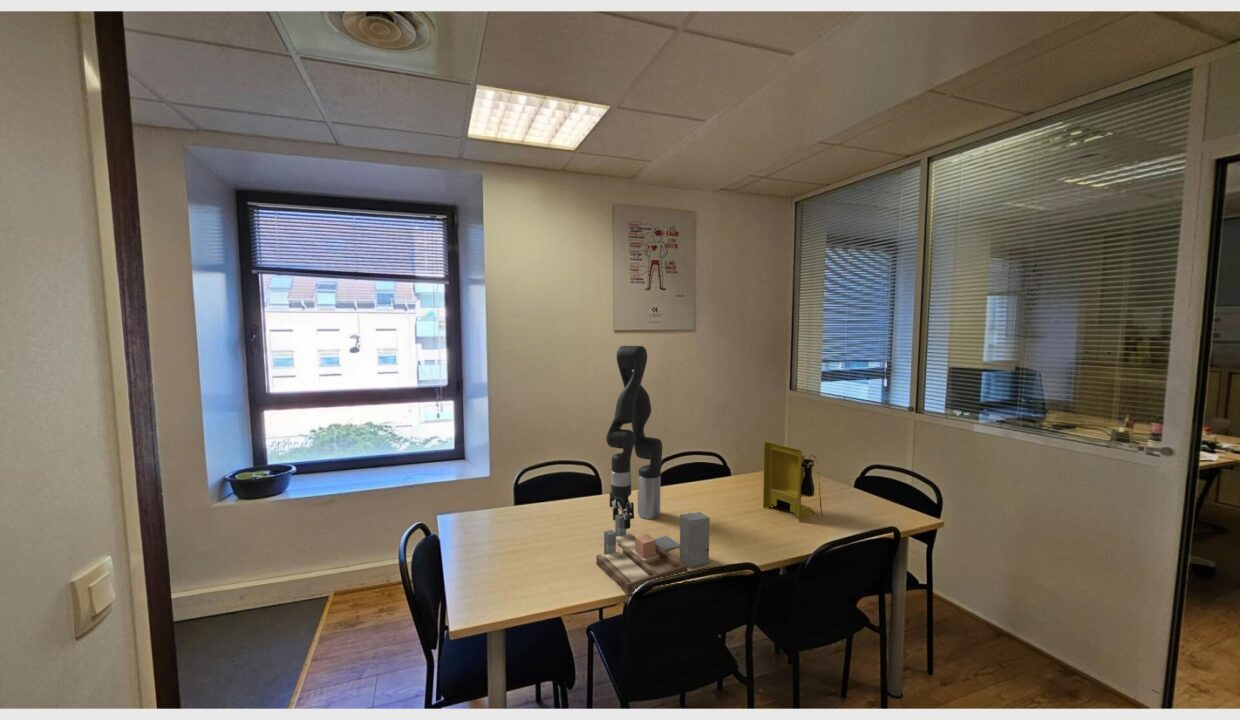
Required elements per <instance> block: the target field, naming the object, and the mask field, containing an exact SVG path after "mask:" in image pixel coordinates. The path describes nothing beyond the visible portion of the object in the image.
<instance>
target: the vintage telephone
mask: <svg viewBox="0 0 1240 720" xmlns="http://www.w3.org/2000/svg"><path fill="white" fill-rule="evenodd" d="M763 451H764V456H763V457H764V459H763V469H762V470H763V472H762V473H763V501H762V502H763V503H762V508H763V507H771V506H774V505H775V506H774V507H778V506H781V505H784V506H786V507H789V512H790V513H793V514H795V516H796V517H797V520H798V519H799V520H798V522H799V521H800V522H801V519H803V518H802V517H804V518H806V517H805V516H807V517H809V516H811V515H810V514H812V515H816V516H818V517H819V515H817V514H816V511H814V510H813V508H811V507H810V506H807V505H804V504H802V498H803V497H807V498H812V497H814V495H815V484H814V479H813V467H815V461H816V464H817V465H819V464H818V460H817V458H816V456H815V455H813V454H810V455H809V458H806V455H805V454H803V451H802V450H801V448H796V447H791V446H788V445H784V444H779V443H775V442H771V441H766V442H764V450H763ZM812 456H813V457H814V458H815V460H813V459H810V458H811V457H812ZM817 473H818V474H817V475H818V476H817V477H820V473H819V471H818V472H817ZM820 489H821V488H820V483H818V490H819V493H818V494H821V490H820ZM819 507H820V508H819V509H820V512H821V513H820V514H821V515H823V510H822V500H821V496H819ZM771 508H772V507H771ZM813 513H814V514H813ZM808 515H809V516H808ZM800 518H801V519H800Z"/></svg>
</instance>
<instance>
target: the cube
mask: <svg viewBox="0 0 1240 720" xmlns="http://www.w3.org/2000/svg"><path fill="white" fill-rule="evenodd" d="M635 537H636V538H635V552H636V553H638V554H639V555H640V556H641V557H643V558H645V557H648V556H652V555H655V554H656V540H655V539H656V538H654V537H652V536H651V535H650V534H644V535H641V536H635Z"/></svg>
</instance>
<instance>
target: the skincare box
mask: <svg viewBox="0 0 1240 720" xmlns="http://www.w3.org/2000/svg"><path fill="white" fill-rule="evenodd" d="M679 520H680V521H679V522H680V523H679V544H680V547H679V561H680V562H681V563H683V564H684V565H687V568H694V567H699V566H701V565H706V564H709V562H710V517H709V516H707V515H706V514H704V513H702V512H701V511H698V512H689V513H683V514H682V513H681V514H680V515H679Z"/></svg>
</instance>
